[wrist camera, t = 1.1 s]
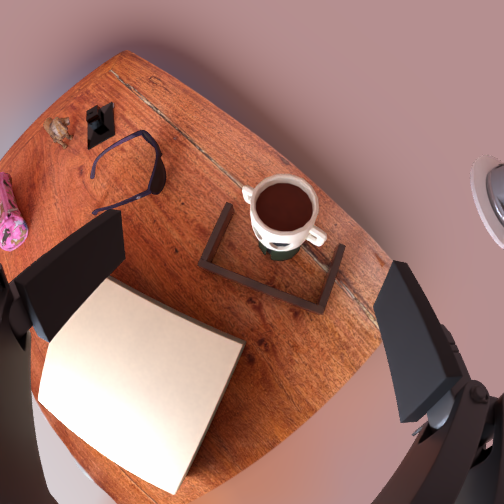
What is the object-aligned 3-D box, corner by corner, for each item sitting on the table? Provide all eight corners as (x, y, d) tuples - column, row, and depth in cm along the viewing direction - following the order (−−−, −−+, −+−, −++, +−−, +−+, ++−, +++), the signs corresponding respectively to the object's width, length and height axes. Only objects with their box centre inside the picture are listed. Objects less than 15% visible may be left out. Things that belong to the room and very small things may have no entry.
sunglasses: (173, 195, 42) (163, 180, 38) (95, 229, 42) (79, 219, 37) (160, 137, 46) (151, 121, 41) (91, 170, 46) (78, 157, 41)
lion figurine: (85, 134, 49) (65, 111, 40) (71, 152, 48) (50, 131, 39) (57, 126, 51) (39, 107, 42) (45, 142, 50) (26, 124, 41)
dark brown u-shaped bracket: (341, 250, 39) (345, 245, 36) (319, 315, 36) (322, 314, 34) (228, 208, 41) (226, 201, 39) (201, 268, 39) (197, 265, 37)
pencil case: (37, 226, 43) (10, 211, 35) (16, 258, 42) (-11, 247, 33) (18, 178, 48) (-3, 163, 39) (0, 205, 47) (-21, 192, 38)
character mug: (235, 240, 40) (220, 202, 27) (262, 203, 41) (259, 154, 29) (298, 281, 38) (312, 261, 25) (323, 241, 39) (347, 204, 27)
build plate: (88, 116, 50) (80, 104, 46) (114, 102, 51) (106, 89, 46) (88, 150, 47) (77, 138, 43) (116, 134, 47) (106, 120, 43)
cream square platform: (246, 341, 36) (242, 344, 30) (185, 477, 31) (174, 495, 25) (98, 268, 40) (77, 260, 34) (58, 394, 35) (37, 399, 29)
